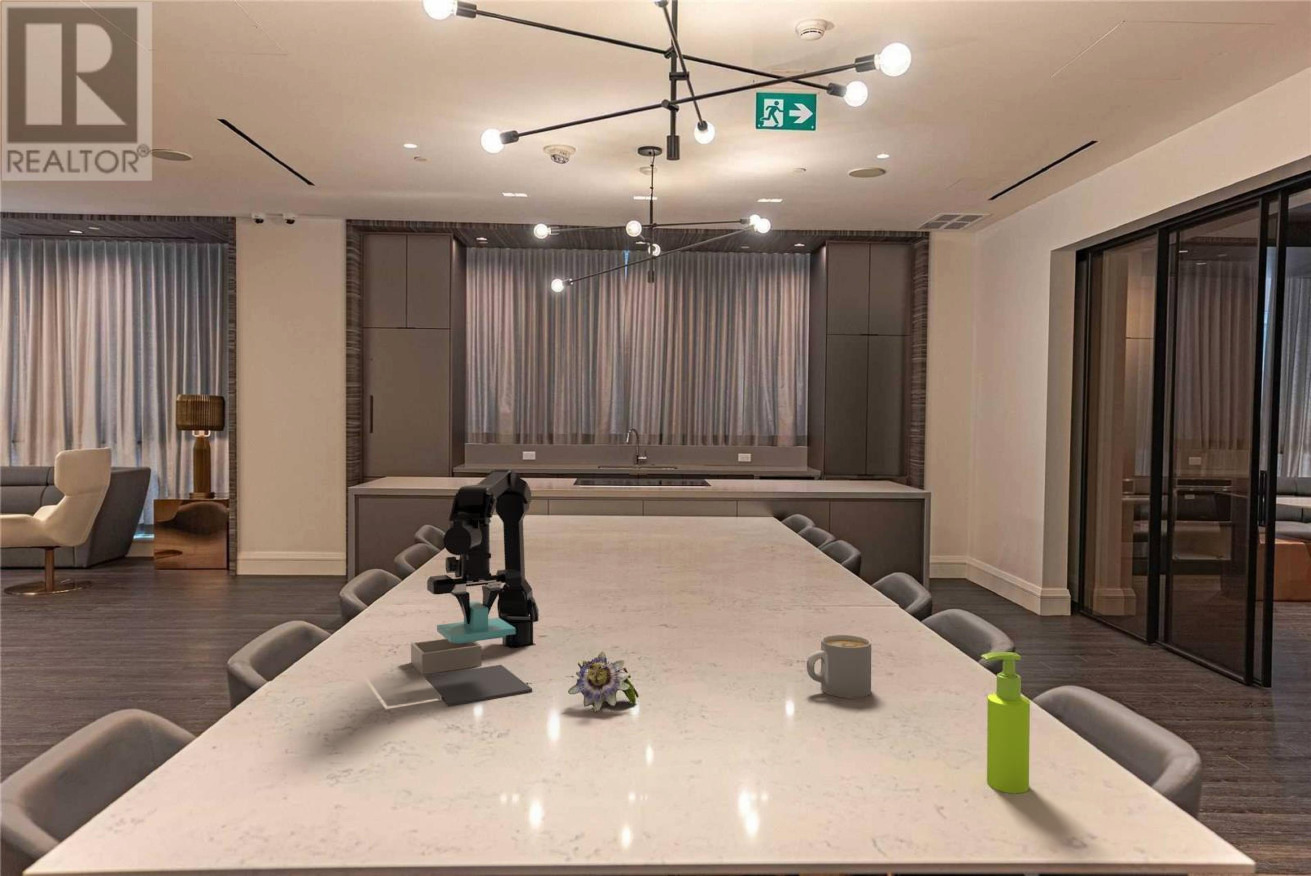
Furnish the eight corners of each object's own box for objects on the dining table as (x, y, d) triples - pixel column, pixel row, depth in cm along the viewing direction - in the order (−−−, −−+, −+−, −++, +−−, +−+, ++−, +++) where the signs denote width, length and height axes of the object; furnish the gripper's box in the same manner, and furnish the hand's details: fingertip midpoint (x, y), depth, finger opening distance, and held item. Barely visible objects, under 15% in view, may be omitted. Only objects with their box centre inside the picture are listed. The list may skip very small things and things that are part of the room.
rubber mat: (501, 667, 186) (501, 664, 186) (532, 691, 170) (532, 688, 170) (424, 679, 178) (424, 676, 178) (448, 706, 161) (448, 703, 161)
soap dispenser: (973, 777, 129) (974, 648, 129) (1016, 775, 130) (1017, 647, 129) (991, 794, 124) (993, 659, 123) (1036, 792, 124) (1038, 658, 124)
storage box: (468, 656, 194) (467, 635, 194) (481, 668, 185) (481, 645, 185) (411, 665, 188) (410, 642, 188) (422, 677, 179) (422, 654, 179)
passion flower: (598, 739, 159) (560, 692, 157) (599, 708, 170) (564, 664, 167) (647, 707, 158) (610, 659, 156) (645, 679, 168) (611, 633, 166)
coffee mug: (862, 681, 176) (862, 634, 176) (877, 697, 166) (878, 647, 166) (799, 682, 175) (799, 635, 175) (811, 698, 165) (811, 648, 165)
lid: (498, 626, 181) (498, 597, 181) (515, 637, 172) (515, 606, 172) (436, 634, 175) (436, 604, 175) (450, 646, 166) (450, 614, 166)
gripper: (505, 539, 185) (506, 609, 185) (420, 545, 175) (420, 619, 176) (523, 546, 175) (524, 620, 175) (434, 553, 166) (434, 631, 166)
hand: (475, 622), depth 173 cm, fingers closed on lid, 3 cm apart
